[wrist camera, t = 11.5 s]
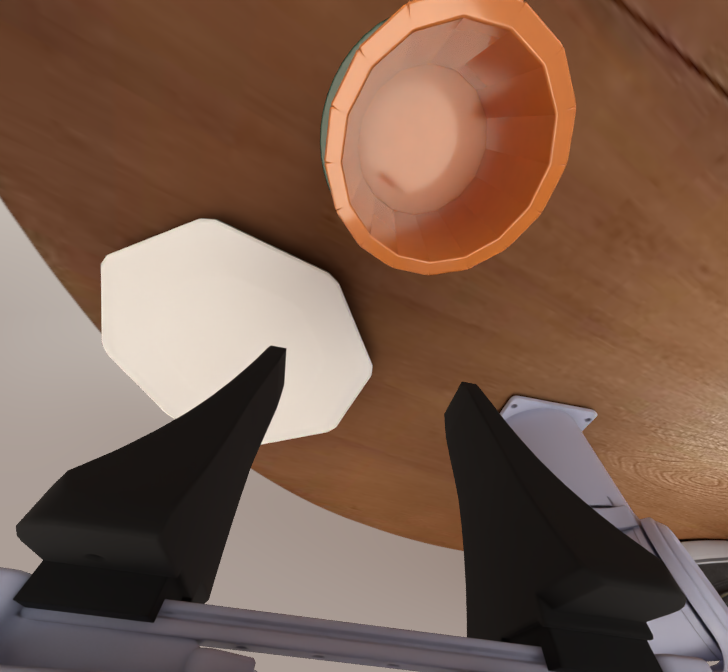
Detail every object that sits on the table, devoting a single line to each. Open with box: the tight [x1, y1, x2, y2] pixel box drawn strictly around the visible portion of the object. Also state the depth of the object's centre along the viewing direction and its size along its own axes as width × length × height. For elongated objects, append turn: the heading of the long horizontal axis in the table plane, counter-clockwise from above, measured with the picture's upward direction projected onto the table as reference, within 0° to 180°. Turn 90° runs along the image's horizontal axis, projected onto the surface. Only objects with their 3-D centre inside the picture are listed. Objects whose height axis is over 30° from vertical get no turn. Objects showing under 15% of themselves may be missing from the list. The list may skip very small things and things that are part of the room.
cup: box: [324, 0, 576, 275], centre depth 9 cm, size 5×5×6 cm
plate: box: [101, 218, 373, 444], centre depth 24 cm, size 20×20×2 cm
